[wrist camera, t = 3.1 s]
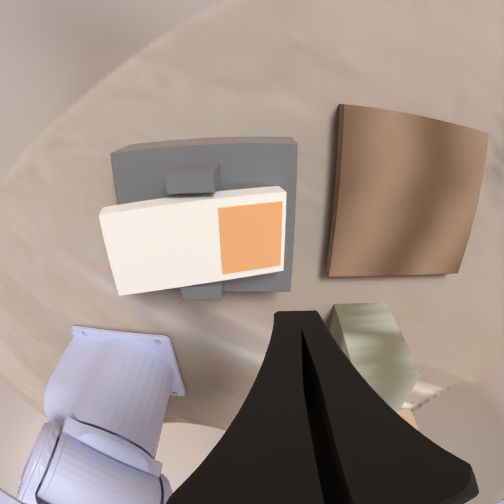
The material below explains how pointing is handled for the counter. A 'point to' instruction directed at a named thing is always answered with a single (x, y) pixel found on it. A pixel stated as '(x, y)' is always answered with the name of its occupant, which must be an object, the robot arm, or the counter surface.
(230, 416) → the counter surface
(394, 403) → the block
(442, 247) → the walnut board
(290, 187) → the switch base
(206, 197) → the rocker
